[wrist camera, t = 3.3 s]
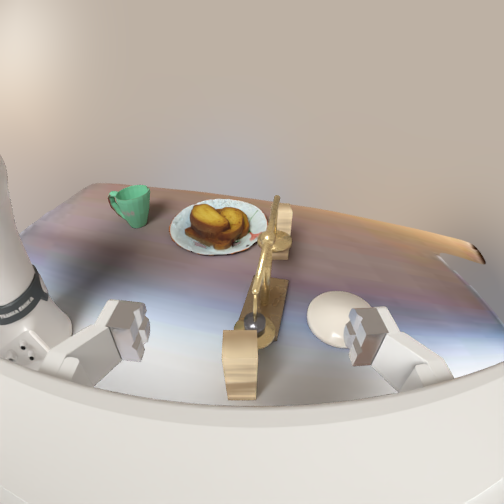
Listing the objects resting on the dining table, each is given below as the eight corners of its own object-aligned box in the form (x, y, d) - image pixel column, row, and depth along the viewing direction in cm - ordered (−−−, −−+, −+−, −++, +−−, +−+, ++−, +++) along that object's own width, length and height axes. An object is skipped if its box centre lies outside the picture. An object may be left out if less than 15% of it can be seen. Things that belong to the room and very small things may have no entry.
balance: (271, 364, 42) (281, 275, 31) (228, 356, 43) (220, 266, 32) (290, 270, 61) (299, 190, 50) (258, 266, 62) (260, 186, 51)
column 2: (287, 259, 64) (292, 212, 57) (270, 259, 64) (272, 212, 56) (285, 249, 67) (289, 203, 60) (268, 249, 67) (271, 203, 60)
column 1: (255, 400, 37) (257, 357, 30) (228, 400, 37) (221, 357, 30) (255, 377, 40) (256, 330, 33) (228, 377, 40) (223, 330, 33)
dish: (348, 363, 42) (350, 358, 41) (291, 320, 49) (292, 315, 48) (385, 320, 48) (388, 315, 48) (334, 287, 56) (335, 281, 55)
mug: (161, 217, 79) (156, 185, 73) (142, 235, 72) (135, 201, 66) (124, 212, 83) (117, 183, 77) (104, 228, 75) (96, 197, 69)
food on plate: (279, 218, 80) (281, 197, 76) (244, 271, 61) (244, 246, 57) (201, 202, 87) (199, 183, 83) (151, 244, 69) (147, 222, 65)
